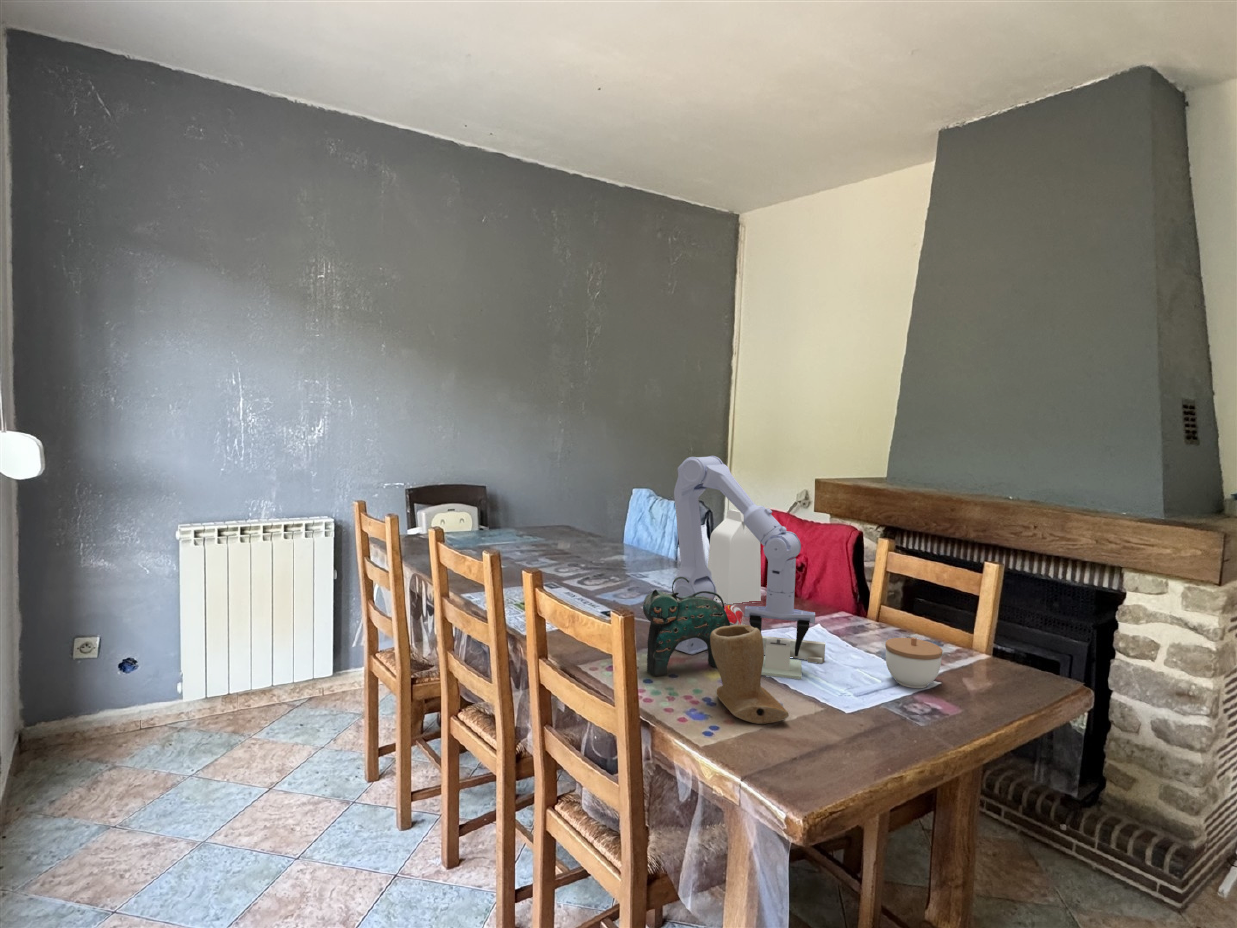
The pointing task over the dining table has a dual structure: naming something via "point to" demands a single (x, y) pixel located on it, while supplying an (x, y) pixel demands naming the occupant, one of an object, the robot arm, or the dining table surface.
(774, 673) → the pad
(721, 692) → the clay boot
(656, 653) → the ceramic cat
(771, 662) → the marked cube
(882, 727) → the dining table surface
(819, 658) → the beige wooden bar
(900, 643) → the lidded jar
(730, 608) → the soda can
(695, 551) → the robot arm
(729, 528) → the milk
